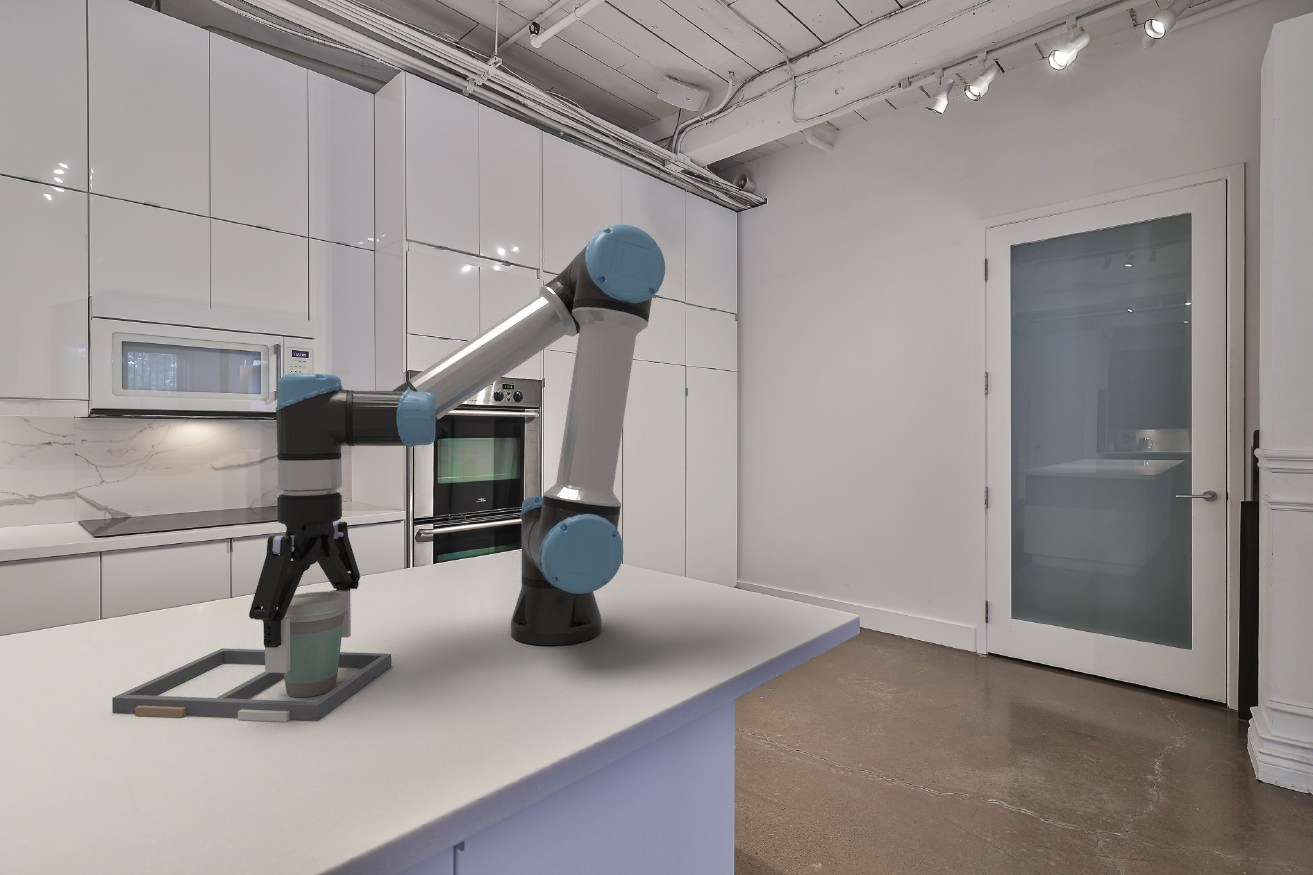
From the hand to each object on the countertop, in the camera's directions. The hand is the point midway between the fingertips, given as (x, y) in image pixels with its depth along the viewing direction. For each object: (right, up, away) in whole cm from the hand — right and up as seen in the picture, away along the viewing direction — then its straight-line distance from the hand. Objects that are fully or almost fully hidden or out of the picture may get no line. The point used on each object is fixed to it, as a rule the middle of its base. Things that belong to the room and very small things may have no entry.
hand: (311, 652), depth 87 cm
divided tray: (-6, -5, +1) cm, 8 cm away
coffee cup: (0, -5, 0) cm, 5 cm away
